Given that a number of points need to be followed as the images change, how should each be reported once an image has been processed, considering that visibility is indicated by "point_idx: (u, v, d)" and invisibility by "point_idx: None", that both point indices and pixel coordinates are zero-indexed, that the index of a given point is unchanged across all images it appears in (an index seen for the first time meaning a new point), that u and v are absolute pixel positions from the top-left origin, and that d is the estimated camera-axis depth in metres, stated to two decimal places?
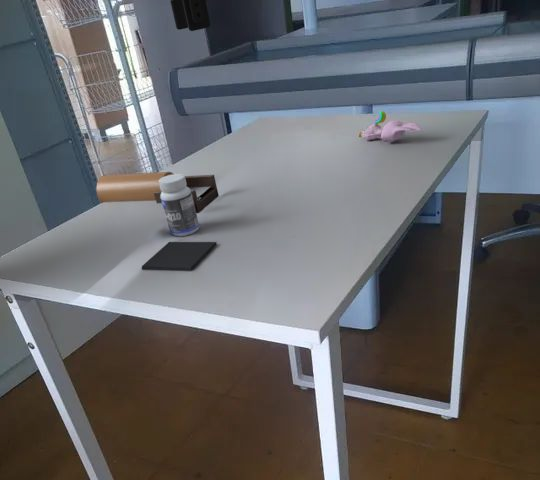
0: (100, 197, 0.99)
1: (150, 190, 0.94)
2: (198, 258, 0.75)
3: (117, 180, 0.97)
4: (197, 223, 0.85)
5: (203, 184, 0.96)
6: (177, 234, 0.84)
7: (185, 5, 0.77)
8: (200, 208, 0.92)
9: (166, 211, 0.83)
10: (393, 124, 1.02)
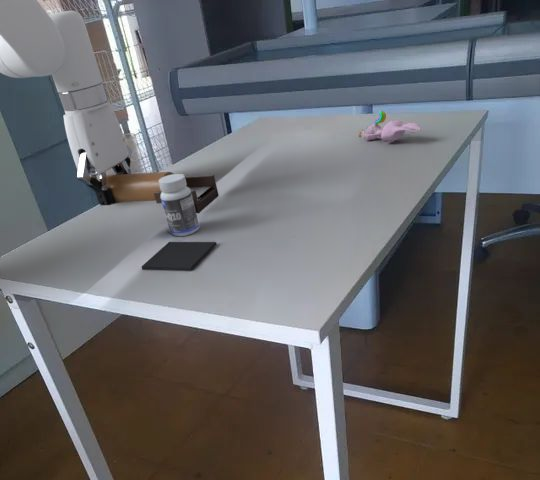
0: None
1: (150, 190, 0.94)
2: (198, 258, 0.75)
3: (117, 180, 0.97)
4: (197, 223, 0.85)
5: (203, 184, 0.96)
6: (177, 234, 0.84)
7: (96, 194, 0.98)
8: (200, 208, 0.92)
9: (166, 211, 0.83)
10: (393, 124, 1.02)
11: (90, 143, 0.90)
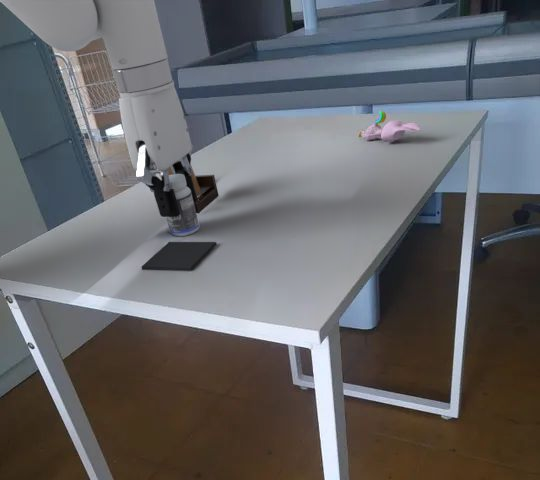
0: None
1: None
2: (198, 258, 0.75)
3: None
4: (197, 223, 0.85)
5: (203, 184, 0.96)
6: (177, 234, 0.84)
7: (155, 196, 0.81)
8: (200, 208, 0.92)
9: None
10: (393, 124, 1.02)
11: (152, 133, 0.73)
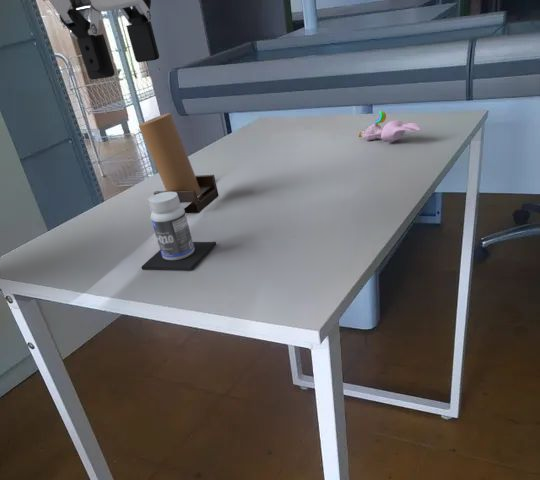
0: (146, 127, 0.87)
1: None
2: (198, 258, 0.75)
3: (172, 145, 0.89)
4: (192, 246, 0.77)
5: (203, 184, 0.96)
6: (169, 258, 0.76)
7: (80, 47, 0.59)
8: (200, 208, 0.92)
9: (157, 233, 0.74)
10: (393, 124, 1.02)
11: None
